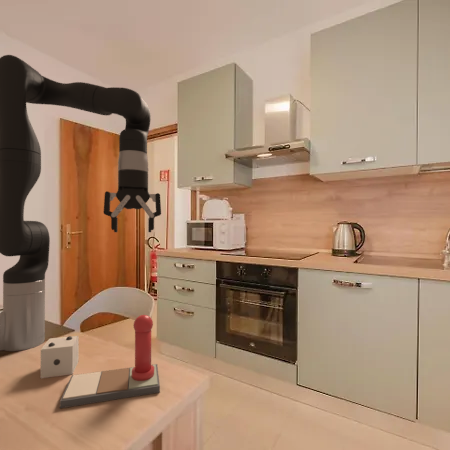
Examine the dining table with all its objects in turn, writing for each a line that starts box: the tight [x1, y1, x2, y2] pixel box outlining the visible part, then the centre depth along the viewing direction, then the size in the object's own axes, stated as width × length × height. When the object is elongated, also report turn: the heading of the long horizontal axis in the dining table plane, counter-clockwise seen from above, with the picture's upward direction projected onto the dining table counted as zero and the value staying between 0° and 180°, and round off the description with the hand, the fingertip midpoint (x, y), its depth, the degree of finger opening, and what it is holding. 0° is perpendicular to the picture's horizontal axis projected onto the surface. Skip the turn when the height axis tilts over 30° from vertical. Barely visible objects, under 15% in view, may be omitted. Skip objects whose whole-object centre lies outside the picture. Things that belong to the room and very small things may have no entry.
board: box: [59, 363, 161, 409], centre depth 56 cm, size 17×9×1 cm, turn 106°
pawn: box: [132, 314, 154, 381], centre depth 58 cm, size 4×4×12 cm
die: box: [40, 335, 80, 379], centre depth 63 cm, size 6×7×7 cm
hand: (133, 232), depth 75 cm, fingers open, 8 cm apart
